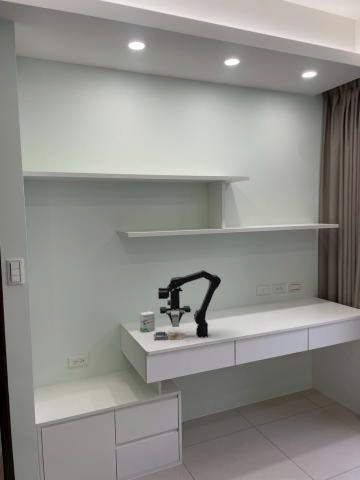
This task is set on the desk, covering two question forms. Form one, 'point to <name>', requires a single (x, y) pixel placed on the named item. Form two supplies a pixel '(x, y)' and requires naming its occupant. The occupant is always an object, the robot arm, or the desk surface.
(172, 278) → the robot arm
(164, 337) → the grey square frame
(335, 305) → the desk surface
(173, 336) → the cork pad
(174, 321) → the cable plug
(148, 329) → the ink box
